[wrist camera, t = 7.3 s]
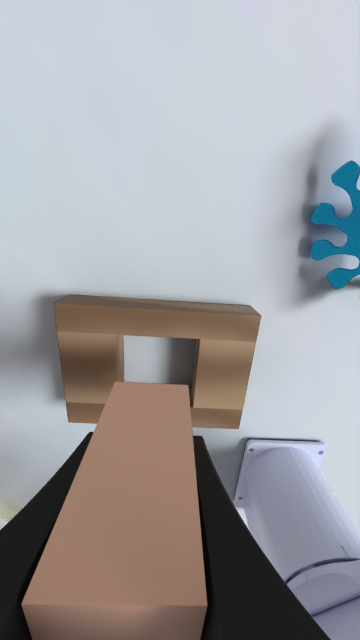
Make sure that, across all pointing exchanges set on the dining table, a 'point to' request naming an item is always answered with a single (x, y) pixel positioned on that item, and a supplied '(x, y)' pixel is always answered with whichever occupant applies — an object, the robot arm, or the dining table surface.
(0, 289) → the dining table surface
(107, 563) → the peg
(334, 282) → the gear
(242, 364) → the socket block
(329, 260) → the dining table surface
